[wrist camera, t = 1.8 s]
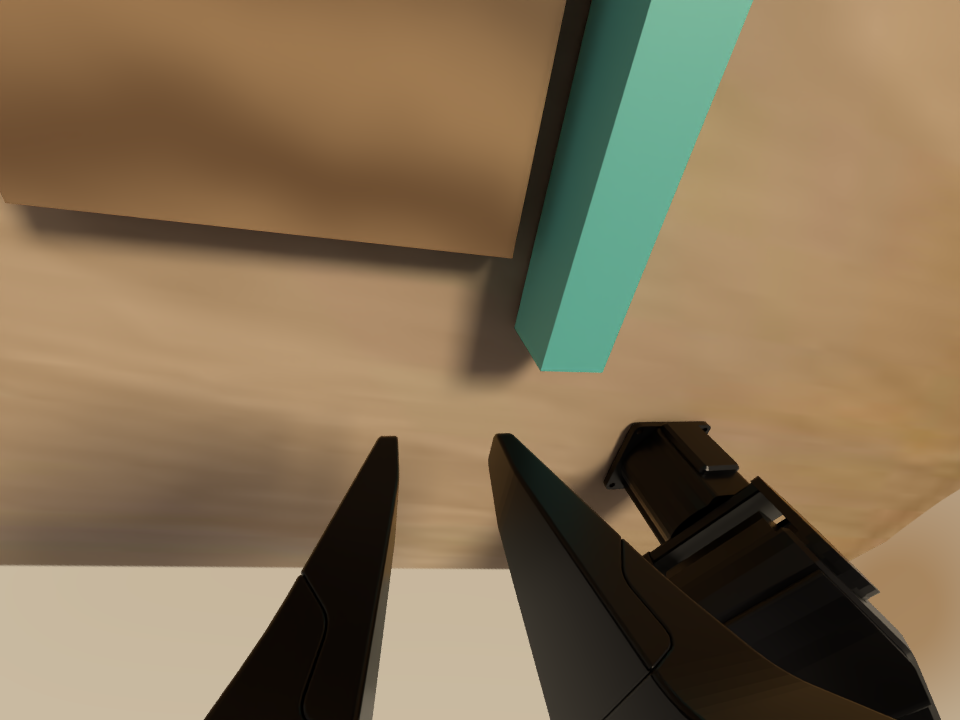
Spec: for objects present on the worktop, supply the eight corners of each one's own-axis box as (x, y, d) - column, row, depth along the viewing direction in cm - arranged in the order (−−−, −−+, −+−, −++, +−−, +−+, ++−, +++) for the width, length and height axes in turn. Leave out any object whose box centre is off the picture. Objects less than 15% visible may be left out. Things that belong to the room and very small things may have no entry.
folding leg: (662, -301, 9) (875, -636, 5) (751, -247, 10) (999, -503, 6) (514, 327, 19) (548, 384, 15) (566, 330, 19) (613, 385, 15)
